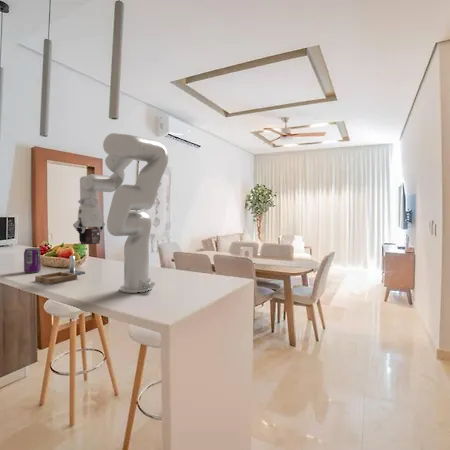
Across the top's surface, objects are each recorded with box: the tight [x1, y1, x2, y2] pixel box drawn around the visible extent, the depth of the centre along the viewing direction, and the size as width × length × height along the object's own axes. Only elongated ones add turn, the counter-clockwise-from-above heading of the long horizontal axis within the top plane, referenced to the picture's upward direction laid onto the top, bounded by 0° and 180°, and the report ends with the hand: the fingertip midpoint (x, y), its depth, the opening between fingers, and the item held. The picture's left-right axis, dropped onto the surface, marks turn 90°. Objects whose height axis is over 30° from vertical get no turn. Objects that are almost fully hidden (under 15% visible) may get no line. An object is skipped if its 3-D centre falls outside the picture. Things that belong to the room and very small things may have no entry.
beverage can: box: [23, 247, 42, 274], centre depth 155 cm, size 7×7×12 cm
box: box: [80, 227, 100, 245], centre depth 143 cm, size 6×6×7 cm
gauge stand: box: [64, 255, 86, 276], centre depth 152 cm, size 8×8×9 cm
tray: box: [34, 271, 78, 285], centre depth 138 cm, size 12×12×2 cm
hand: (90, 240), depth 143 cm, fingers closed on box, 7 cm apart
